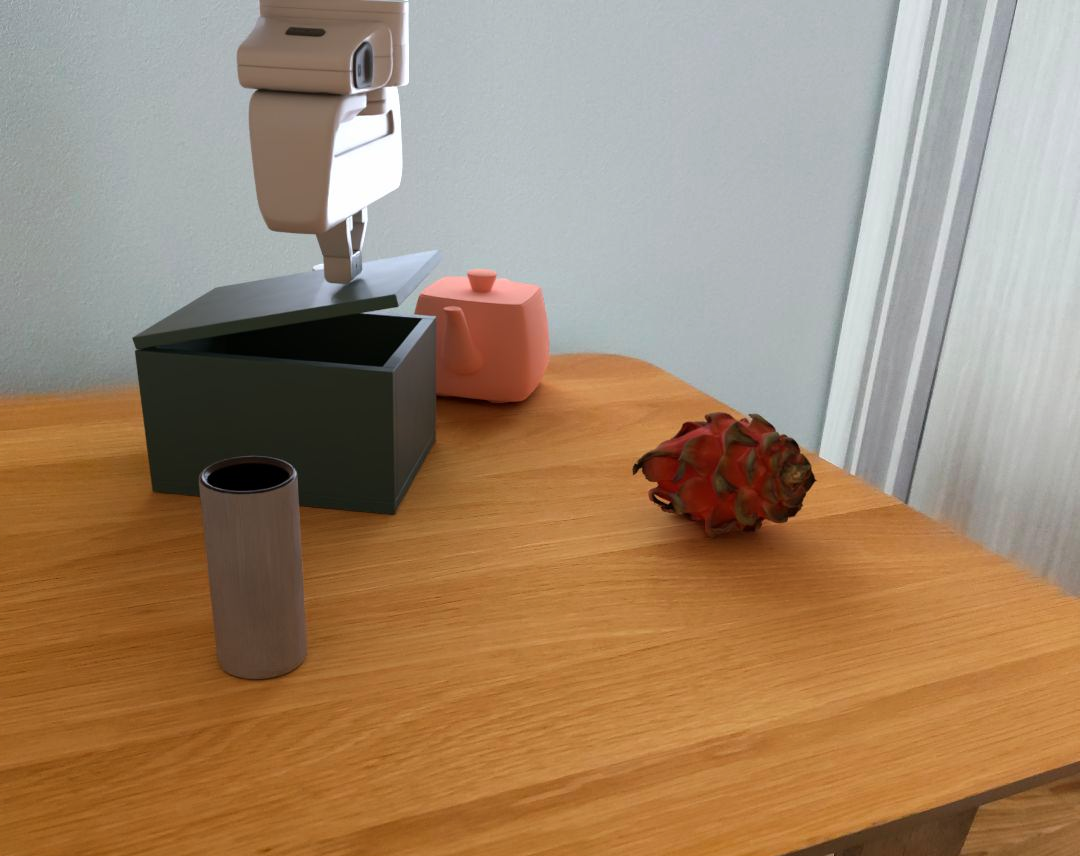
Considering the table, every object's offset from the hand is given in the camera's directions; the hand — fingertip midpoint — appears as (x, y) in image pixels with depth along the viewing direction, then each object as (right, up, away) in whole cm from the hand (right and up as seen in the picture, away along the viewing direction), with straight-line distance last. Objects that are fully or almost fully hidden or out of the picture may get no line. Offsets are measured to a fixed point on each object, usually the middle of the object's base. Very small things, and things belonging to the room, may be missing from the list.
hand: (343, 279), depth 71 cm
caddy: (-4, -12, +7) cm, 14 cm away
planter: (-1, -24, -16) cm, 28 cm away
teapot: (+7, -4, +23) cm, 25 cm away
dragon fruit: (+25, -17, +1) cm, 30 cm away
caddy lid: (-3, -1, +1) cm, 4 cm away
